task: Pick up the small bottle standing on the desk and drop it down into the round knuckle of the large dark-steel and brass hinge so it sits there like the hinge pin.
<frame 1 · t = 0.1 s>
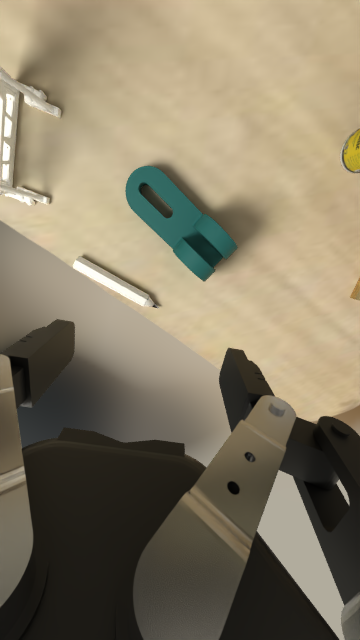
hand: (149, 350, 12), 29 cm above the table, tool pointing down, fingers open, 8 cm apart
bracket: (177, 222, 37), on the table
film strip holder: (7, 141, 33), on the table
marker: (121, 284, 41), on the table
supplement bottle: (356, 152, 33), on the table
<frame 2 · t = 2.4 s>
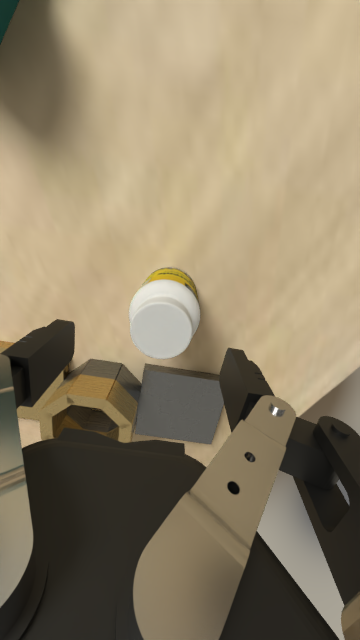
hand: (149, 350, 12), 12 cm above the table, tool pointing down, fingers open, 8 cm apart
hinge: (105, 391, 28), on the table
supplement bottle: (170, 291, 23), on the table
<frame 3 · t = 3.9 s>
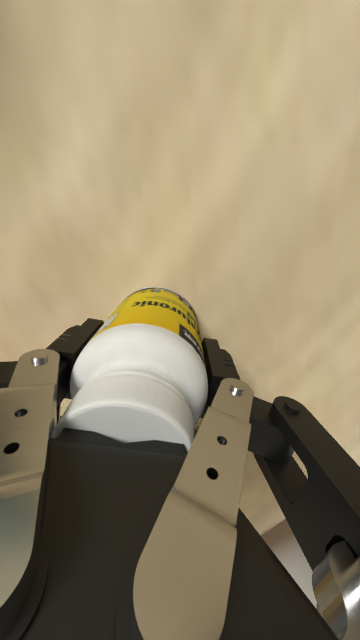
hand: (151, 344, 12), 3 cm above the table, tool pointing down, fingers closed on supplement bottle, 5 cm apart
supplement bottle: (157, 322, 15), on the table, touching gripper
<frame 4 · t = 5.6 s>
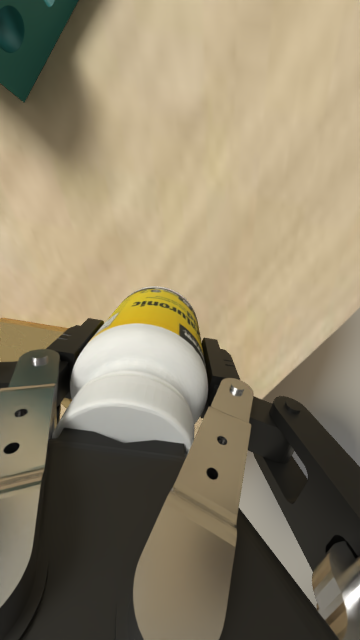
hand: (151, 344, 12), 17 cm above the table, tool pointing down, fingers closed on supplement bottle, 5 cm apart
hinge: (109, 365, 33), on the table
supplement bottle: (157, 322, 15), point 14 cm above the table, touching gripper
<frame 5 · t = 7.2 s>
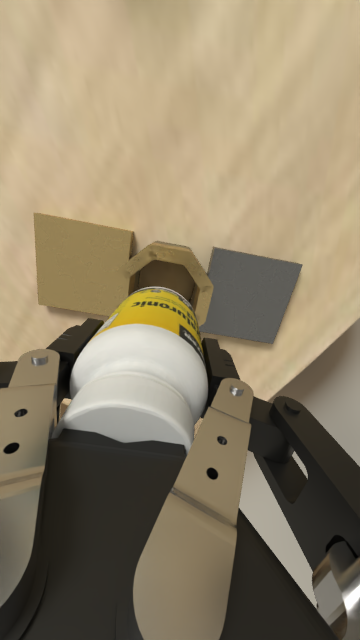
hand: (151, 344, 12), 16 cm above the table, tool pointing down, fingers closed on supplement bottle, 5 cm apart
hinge: (166, 282, 27), on the table
supplement bottle: (157, 322, 15), point 13 cm above the table, touching gripper
when the fingers open (7 cm above the table, at t = 9.0 s): supplement bottle drops 4 cm, resting in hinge.
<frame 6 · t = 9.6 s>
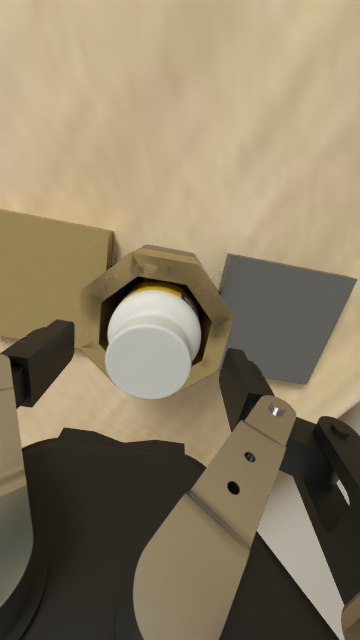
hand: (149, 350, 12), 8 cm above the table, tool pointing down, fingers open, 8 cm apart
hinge: (161, 303, 19), on the table
supplement bottle: (163, 301, 20), resting in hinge
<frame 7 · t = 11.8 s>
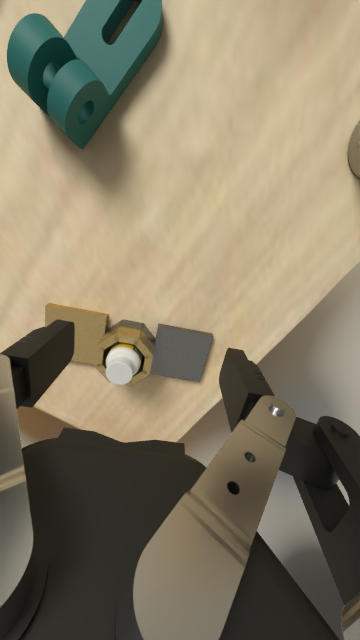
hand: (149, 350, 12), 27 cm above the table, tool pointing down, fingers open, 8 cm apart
bracket: (104, 65, 28), on the table
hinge: (130, 343, 42), on the table
supplement bottle: (130, 342, 42), resting in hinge
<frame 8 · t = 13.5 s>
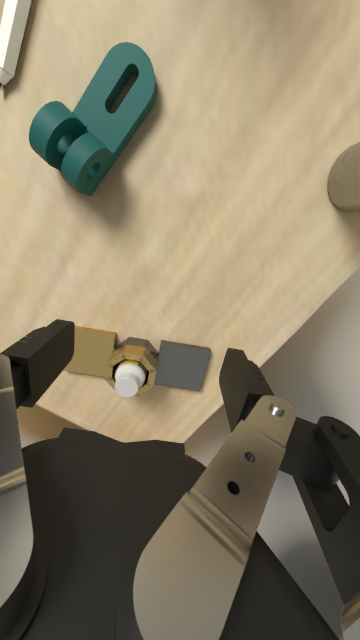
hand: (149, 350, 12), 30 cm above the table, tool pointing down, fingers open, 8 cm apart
bracket: (107, 126, 33), on the table
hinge: (136, 357, 47), on the table
marker: (21, 30, 29), on the table
supplement bottle: (137, 356, 47), resting in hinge
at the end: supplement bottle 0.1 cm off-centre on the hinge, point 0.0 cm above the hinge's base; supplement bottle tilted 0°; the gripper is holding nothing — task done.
